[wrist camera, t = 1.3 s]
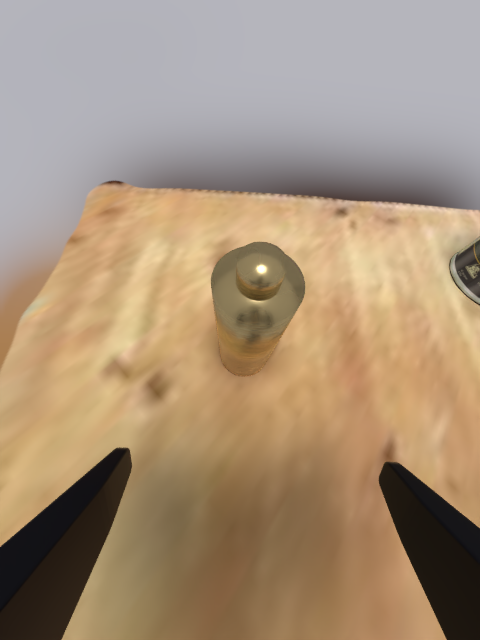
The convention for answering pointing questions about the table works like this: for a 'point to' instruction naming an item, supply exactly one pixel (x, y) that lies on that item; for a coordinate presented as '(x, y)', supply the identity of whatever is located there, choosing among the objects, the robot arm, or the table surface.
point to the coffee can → (468, 270)
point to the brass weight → (254, 303)
